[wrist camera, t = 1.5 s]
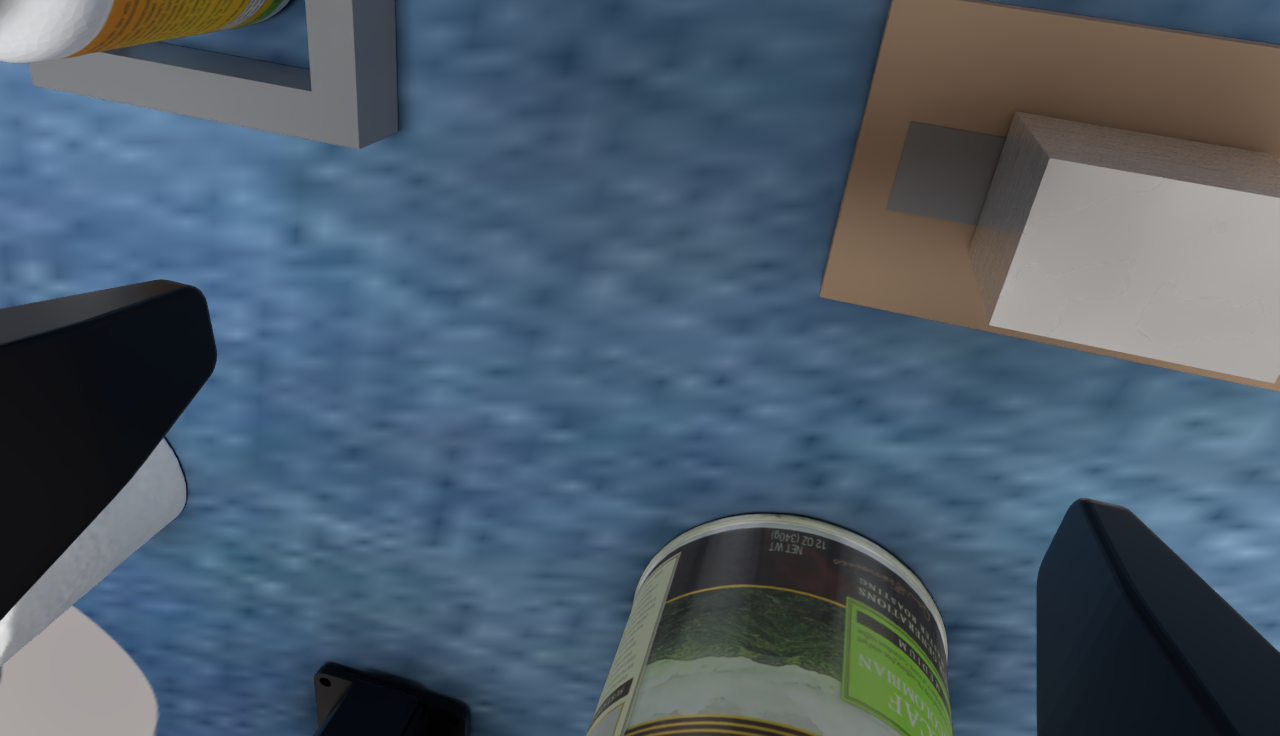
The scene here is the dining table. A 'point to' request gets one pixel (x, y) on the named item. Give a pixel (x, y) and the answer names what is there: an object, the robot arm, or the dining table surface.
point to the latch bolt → (1134, 245)
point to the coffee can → (777, 638)
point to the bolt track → (979, 124)
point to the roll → (99, 548)
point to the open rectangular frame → (260, 79)
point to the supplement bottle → (115, 24)
